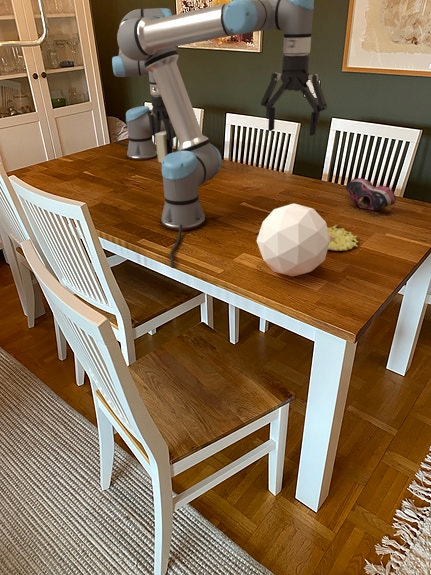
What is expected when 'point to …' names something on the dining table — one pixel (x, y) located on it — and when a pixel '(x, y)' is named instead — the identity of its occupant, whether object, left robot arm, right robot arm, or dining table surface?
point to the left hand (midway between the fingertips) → (165, 153)
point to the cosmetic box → (161, 145)
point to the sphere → (293, 240)
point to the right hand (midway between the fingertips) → (291, 132)
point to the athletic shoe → (370, 194)
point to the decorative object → (340, 239)
